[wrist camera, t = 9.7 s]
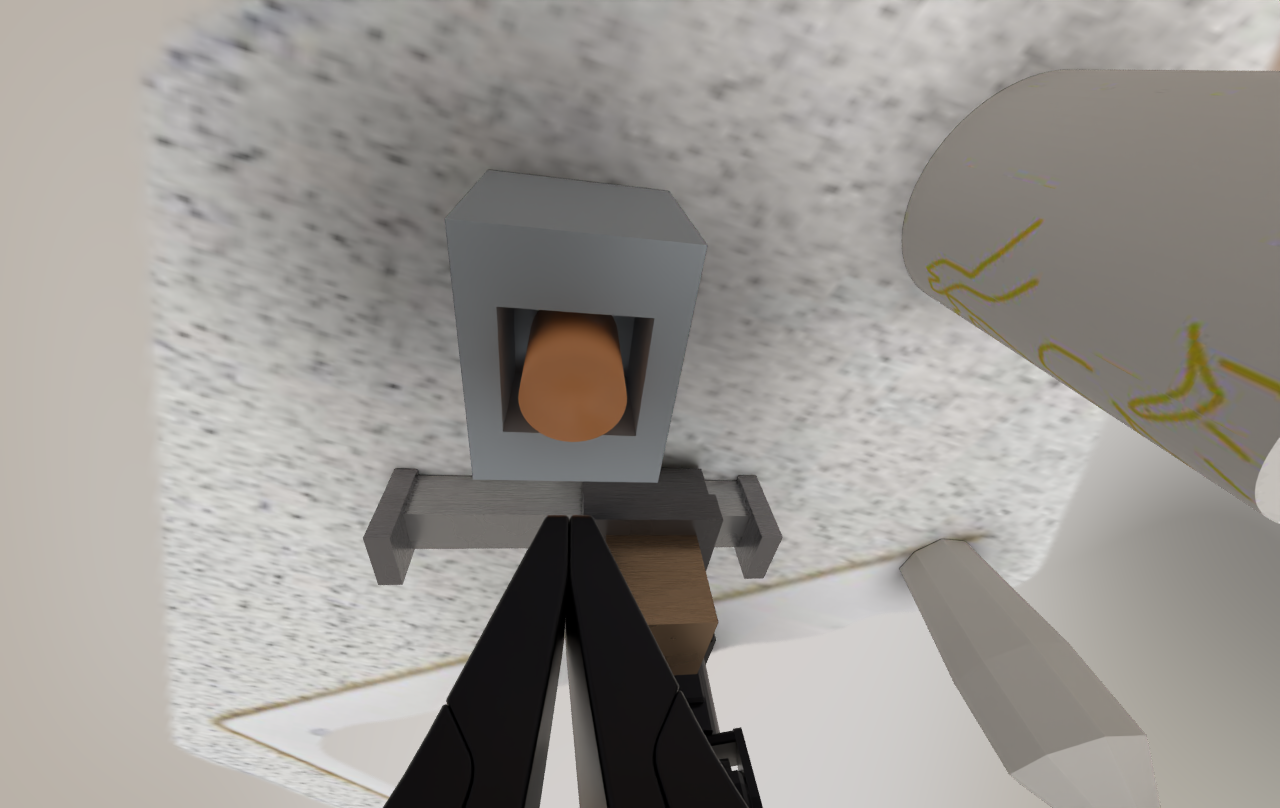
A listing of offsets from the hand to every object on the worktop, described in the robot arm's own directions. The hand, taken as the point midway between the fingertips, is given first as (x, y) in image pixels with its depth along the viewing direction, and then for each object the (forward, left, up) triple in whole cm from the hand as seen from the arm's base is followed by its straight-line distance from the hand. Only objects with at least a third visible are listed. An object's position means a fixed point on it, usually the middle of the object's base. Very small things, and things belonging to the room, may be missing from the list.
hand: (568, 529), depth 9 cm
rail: (-11, -1, -11) cm, 16 cm away
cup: (+5, -16, -12) cm, 20 cm away
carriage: (-11, -4, -11) cm, 16 cm away
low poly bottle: (-17, -25, -12) cm, 33 cm away
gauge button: (0, 0, -8) cm, 8 cm away
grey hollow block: (0, 0, -11) cm, 11 cm away
